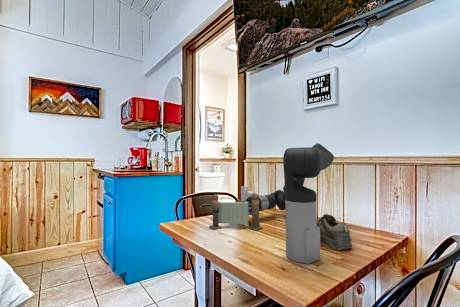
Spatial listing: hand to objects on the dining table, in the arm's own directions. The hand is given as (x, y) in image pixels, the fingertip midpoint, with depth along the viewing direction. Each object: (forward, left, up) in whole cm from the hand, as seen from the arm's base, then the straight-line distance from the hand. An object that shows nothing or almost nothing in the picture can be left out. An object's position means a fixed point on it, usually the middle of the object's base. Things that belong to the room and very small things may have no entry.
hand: (227, 208), depth 112 cm
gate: (-2, 0, -7) cm, 7 cm away
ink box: (+16, -25, -8) cm, 31 cm away
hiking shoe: (-37, -18, -8) cm, 42 cm away
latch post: (+1, +6, -8) cm, 10 cm away
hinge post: (-10, -8, -8) cm, 15 cm away
